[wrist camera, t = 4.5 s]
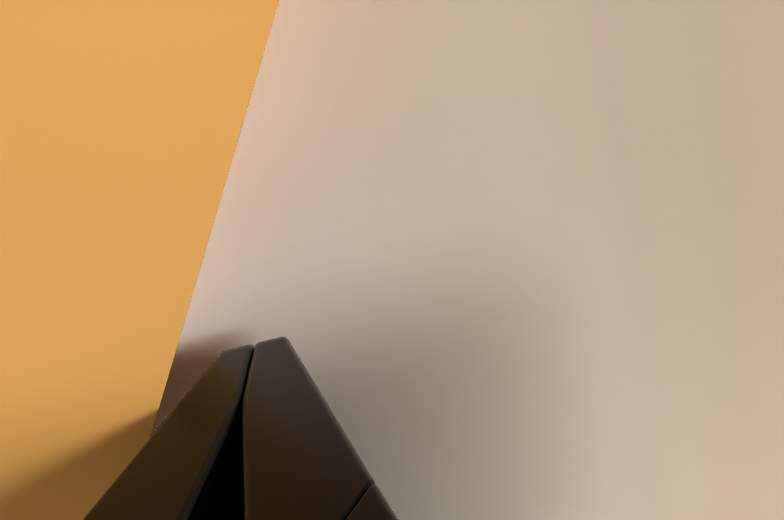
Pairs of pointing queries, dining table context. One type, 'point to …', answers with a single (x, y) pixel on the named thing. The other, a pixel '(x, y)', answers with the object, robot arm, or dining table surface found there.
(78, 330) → the long orange brick
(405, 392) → the dining table surface
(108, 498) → the robot arm
